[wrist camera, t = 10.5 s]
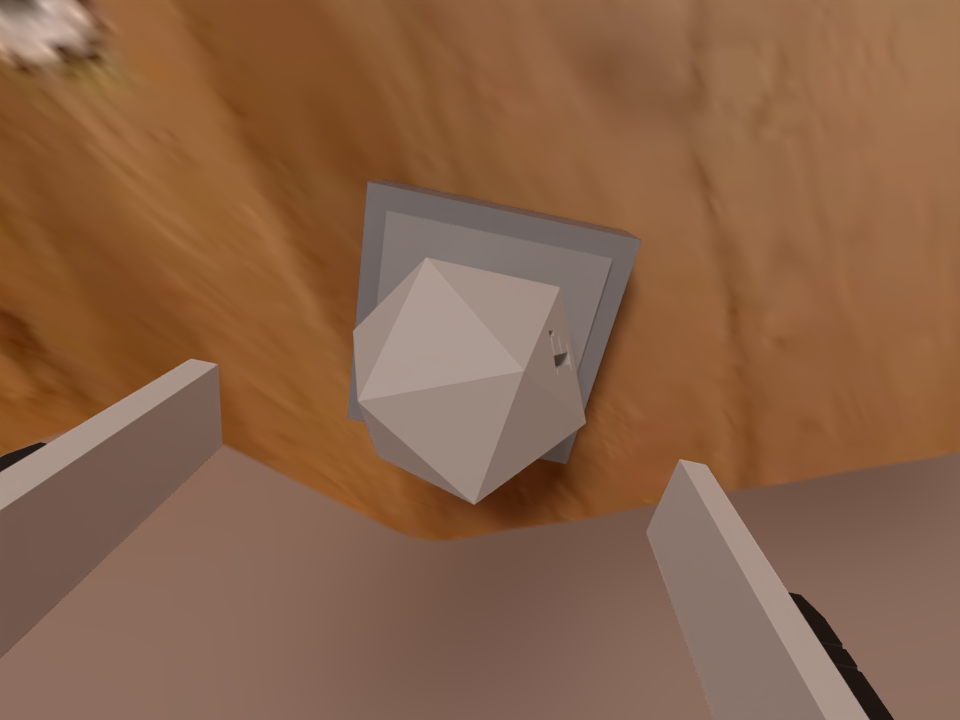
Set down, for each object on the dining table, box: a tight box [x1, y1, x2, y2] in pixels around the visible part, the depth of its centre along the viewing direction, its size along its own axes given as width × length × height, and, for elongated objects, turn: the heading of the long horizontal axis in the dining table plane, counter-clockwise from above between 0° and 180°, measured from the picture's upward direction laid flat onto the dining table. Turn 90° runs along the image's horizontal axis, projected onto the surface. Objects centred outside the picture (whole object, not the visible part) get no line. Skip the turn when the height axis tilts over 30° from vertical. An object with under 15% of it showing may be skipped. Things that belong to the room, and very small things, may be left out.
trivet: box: [348, 180, 641, 464], centre depth 23 cm, size 12×12×3 cm
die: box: [353, 257, 586, 505], centre depth 18 cm, size 8×9×10 cm
